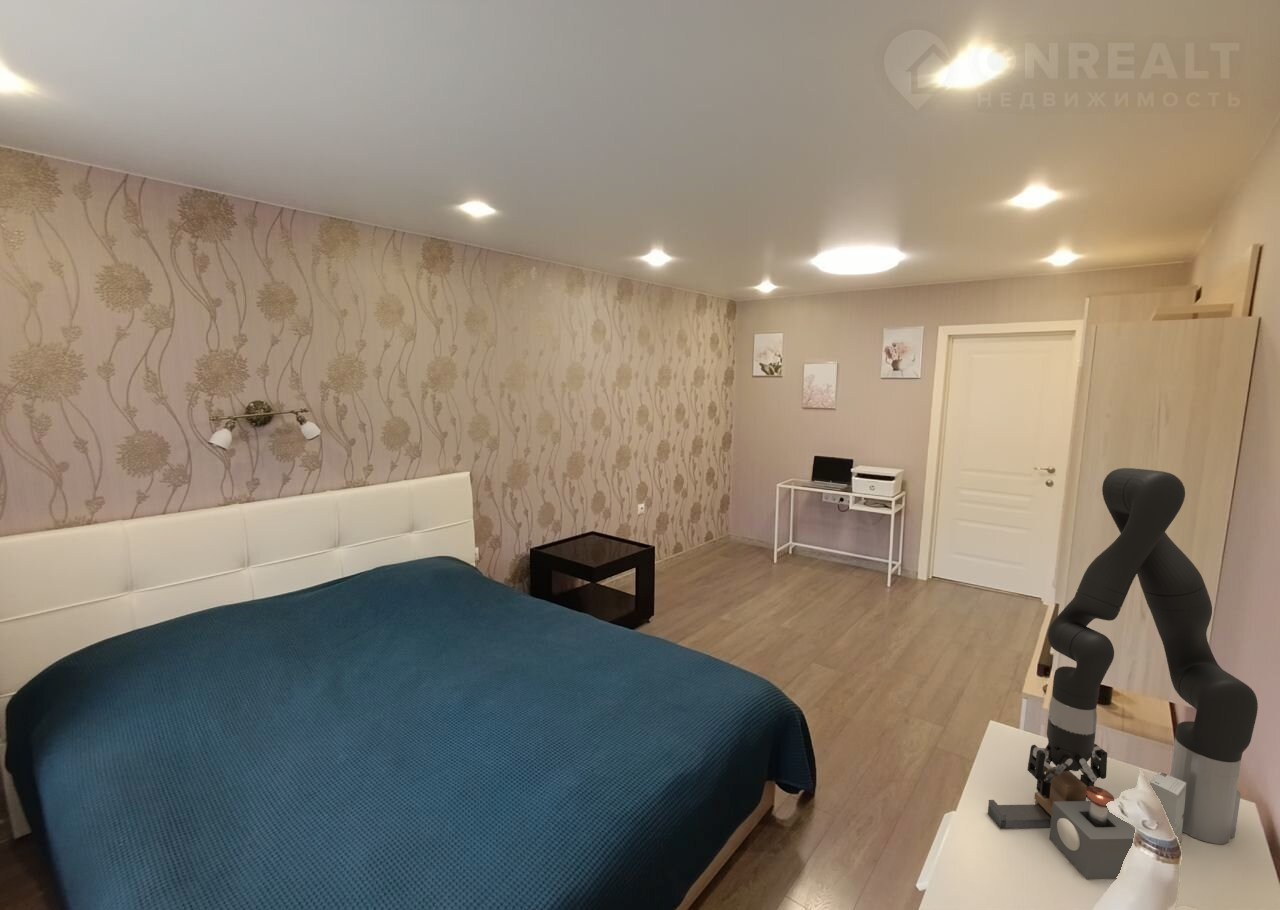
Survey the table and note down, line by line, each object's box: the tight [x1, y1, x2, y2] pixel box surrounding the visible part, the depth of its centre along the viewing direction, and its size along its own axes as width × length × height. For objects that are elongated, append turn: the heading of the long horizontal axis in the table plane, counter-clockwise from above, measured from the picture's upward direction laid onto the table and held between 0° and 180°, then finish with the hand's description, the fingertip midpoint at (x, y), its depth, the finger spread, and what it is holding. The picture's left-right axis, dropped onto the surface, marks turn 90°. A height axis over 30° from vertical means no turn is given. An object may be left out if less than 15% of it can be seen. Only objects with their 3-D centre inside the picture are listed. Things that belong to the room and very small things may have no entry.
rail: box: [987, 799, 1051, 830], centre depth 113 cm, size 20×4×3 cm, turn 91°
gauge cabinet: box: [1048, 800, 1136, 880], centre depth 104 cm, size 10×9×8 cm
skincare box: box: [1149, 771, 1186, 843], centre depth 108 cm, size 6×4×12 cm
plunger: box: [1086, 785, 1115, 827], centre depth 103 cm, size 4×4×7 cm
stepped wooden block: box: [1034, 766, 1087, 815], centre depth 113 cm, size 7×6×9 cm
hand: (1064, 795), depth 113 cm, fingers open, 8 cm apart
